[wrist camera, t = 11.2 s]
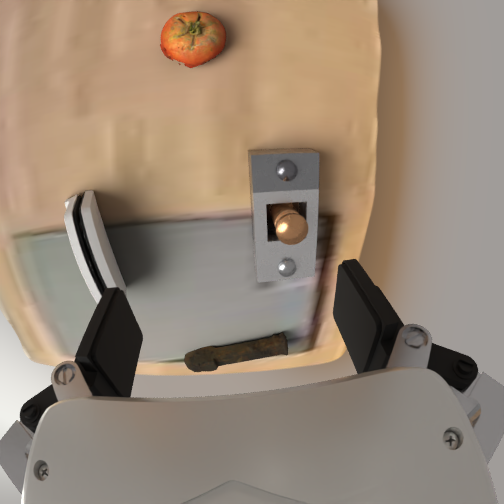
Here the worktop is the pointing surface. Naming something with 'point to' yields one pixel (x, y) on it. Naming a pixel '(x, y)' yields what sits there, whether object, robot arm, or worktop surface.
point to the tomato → (192, 38)
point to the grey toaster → (91, 245)
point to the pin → (288, 223)
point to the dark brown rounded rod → (235, 353)
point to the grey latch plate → (283, 191)
